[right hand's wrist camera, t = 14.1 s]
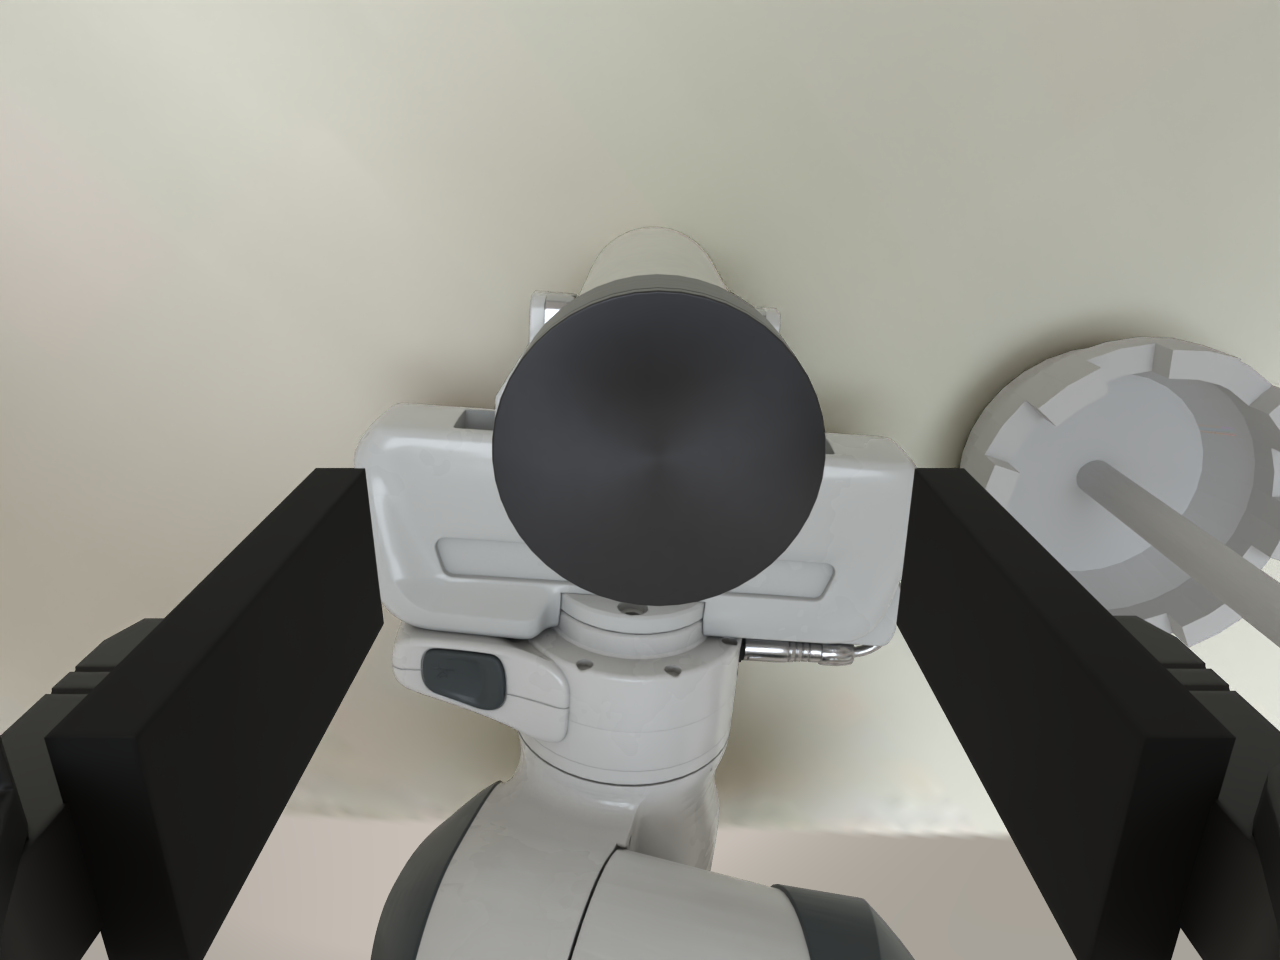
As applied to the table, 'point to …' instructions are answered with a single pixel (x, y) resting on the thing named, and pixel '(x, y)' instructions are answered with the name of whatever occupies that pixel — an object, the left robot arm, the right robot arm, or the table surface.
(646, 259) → the jar
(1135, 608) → the flag stand
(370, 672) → the table surface
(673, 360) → the lid
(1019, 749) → the right robot arm
